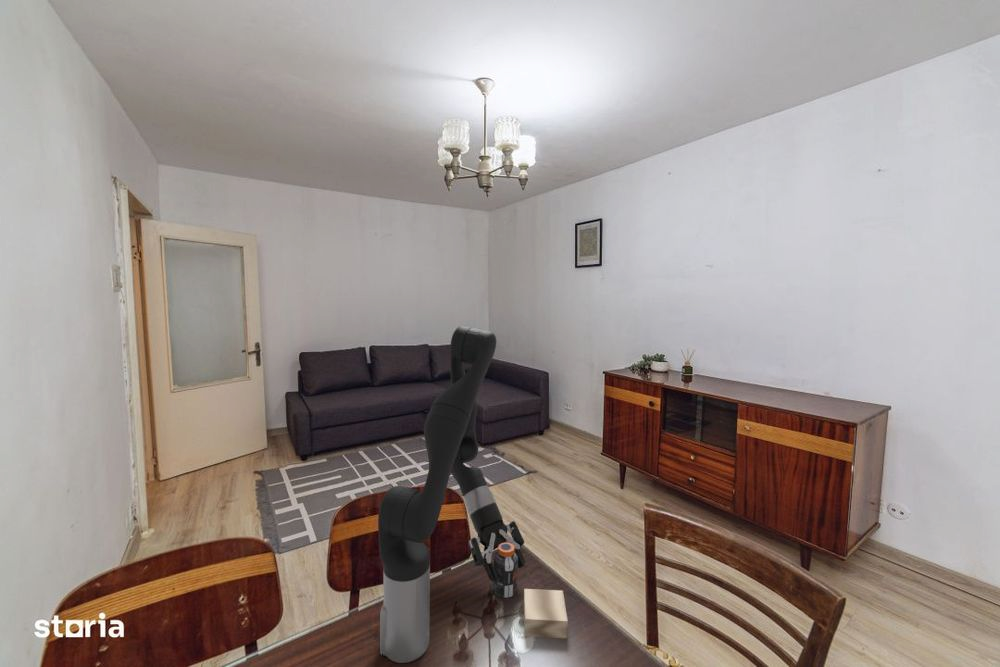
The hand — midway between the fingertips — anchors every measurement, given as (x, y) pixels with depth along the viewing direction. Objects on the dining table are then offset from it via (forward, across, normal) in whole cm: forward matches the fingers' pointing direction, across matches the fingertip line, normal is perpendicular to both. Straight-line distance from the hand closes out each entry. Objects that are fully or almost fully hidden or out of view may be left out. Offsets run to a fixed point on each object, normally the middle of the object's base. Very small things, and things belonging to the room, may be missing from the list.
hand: (509, 573), depth 101 cm
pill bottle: (+3, 0, +5) cm, 6 cm away
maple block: (+12, +1, -4) cm, 12 cm away
